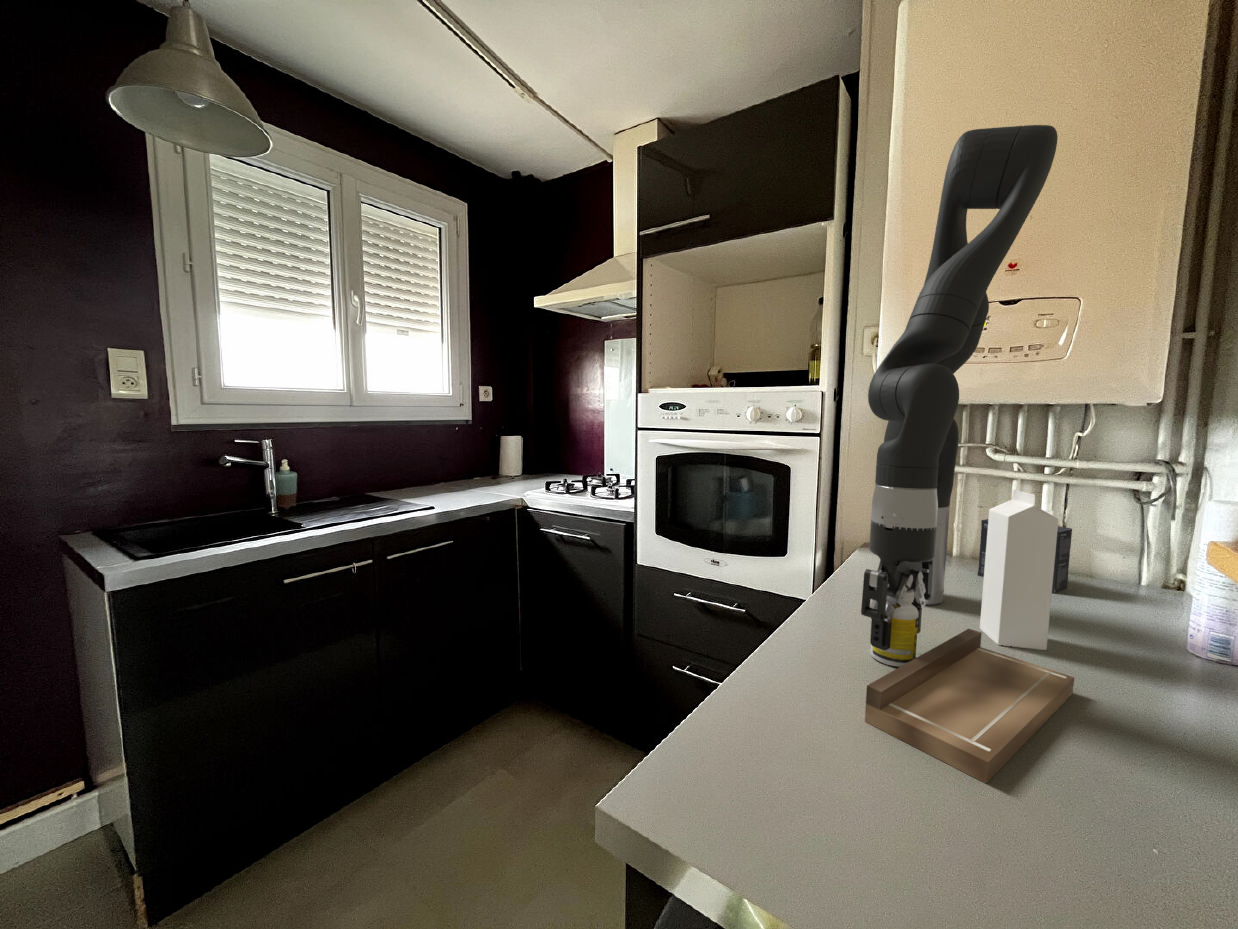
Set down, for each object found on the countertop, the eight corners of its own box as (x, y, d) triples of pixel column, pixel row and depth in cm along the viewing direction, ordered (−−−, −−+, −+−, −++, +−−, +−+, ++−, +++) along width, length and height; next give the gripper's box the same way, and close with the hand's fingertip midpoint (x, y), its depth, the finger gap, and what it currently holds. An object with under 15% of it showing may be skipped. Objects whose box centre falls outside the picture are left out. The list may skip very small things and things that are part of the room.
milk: (997, 646, 72) (1009, 494, 69) (978, 628, 77) (989, 488, 75) (1047, 651, 70) (1061, 495, 68) (1024, 633, 76) (1036, 489, 74)
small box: (1068, 588, 97) (1074, 527, 96) (1055, 594, 94) (1061, 531, 93) (990, 570, 108) (994, 516, 107) (975, 575, 105) (980, 519, 104)
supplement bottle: (922, 670, 64) (927, 596, 63) (876, 666, 65) (880, 593, 64) (906, 651, 69) (911, 583, 68) (864, 647, 70) (868, 580, 69)
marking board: (864, 721, 53) (866, 685, 53) (966, 656, 68) (968, 628, 68) (986, 783, 44) (990, 741, 44) (1072, 693, 59) (1075, 661, 59)
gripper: (899, 510, 72) (893, 619, 74) (846, 521, 64) (839, 642, 66) (958, 519, 66) (949, 637, 68) (907, 531, 58) (899, 665, 59)
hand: (895, 639), depth 67 cm, fingers open, 8 cm apart
